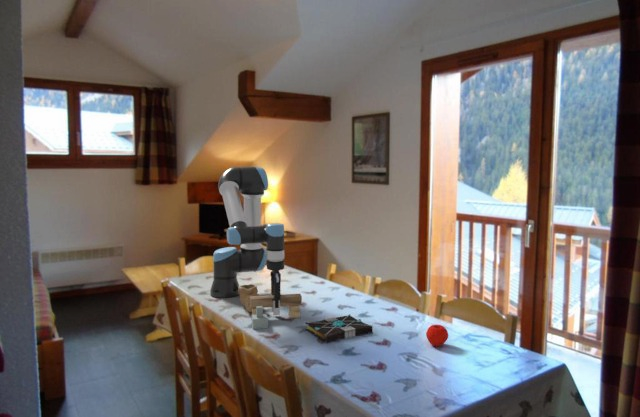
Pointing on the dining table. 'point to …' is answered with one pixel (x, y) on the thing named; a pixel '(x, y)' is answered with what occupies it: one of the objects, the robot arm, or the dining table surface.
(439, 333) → the apple
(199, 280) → the dining table surface
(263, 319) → the block
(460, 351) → the dining table surface
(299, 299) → the rod
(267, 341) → the dining table surface
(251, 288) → the pipe
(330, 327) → the book
